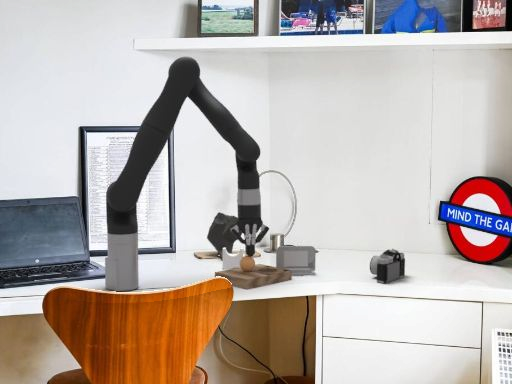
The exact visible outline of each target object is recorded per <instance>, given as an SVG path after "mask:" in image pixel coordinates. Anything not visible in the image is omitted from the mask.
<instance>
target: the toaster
mask: <svg viewBox="0 0 512 384" xmlns="http://www.w3.org/2000/svg"><path fill="white" fill-rule="evenodd" d="M275 254H276V255H275V267H277V268H282V269H287V270H292V277H296V276H301V277H302V276H303V277H304V276H316V257H317V255H316V248H315V247H314V246H312V245H280V246H278V247H277V248H276V251H275Z"/></svg>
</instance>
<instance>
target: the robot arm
mask: <svg viewBox="0 0 512 384" xmlns="http://www.w3.org/2000/svg"><path fill="white" fill-rule="evenodd" d="M167 72H168V74H167V75H168V76H167V79H166V81H165V84H164V86H163V88H162V91H161V93H160V94H159V97H158V98H157V99H156V100H155V102H154V103H153V105H152V106H151V108H150V109H149V110H148V112H147V114H146V115H145V117H144V118H143V120H142V122H141V125H140V126H139V128H138V130H137V131H136V134H135V136H134V139H133V142H132V145H131V148H130V152H129V155H128V158H127V161H126V163H125V165H124V167H123V169H122V170H121V172H120V174H119V176H118V177H117V179H116V180H115V181H113V182H111V183H110V184H109V186H108V187H107V188H106V189H107V190H106V193H105V205H106V206H105V208H106V210H105V211H106V214H105V215H106V227H107V228H106V230H107V232H106V233H107V234H106V236H107V239H106V240H107V241H106V242H107V256H106V257H105V258H104V268H105V269H104V271H105V272H104V275H105V278H104V279H105V281H104V282H105V286H104V287H105V289H106V290H107V289H108V290H111V291H114V292H121V291H124V292H125V291H126V292H127V291H133V290H135V289H138V288H139V285H140V284H139V282H140V281H139V280H140V279H139V224H138V214H137V208H138V206H137V204H138V202H139V198H140V195H141V193H142V191H143V189H144V188H143V187H144V185H145V182H146V180H147V177H148V175H149V173H150V172H151V170H152V169H153V167H154V165H155V163H156V162H157V160H158V159H159V158H160V156H161V153H162V152H163V150H164V148H165V146H166V145H167V142H168V140H169V138H170V136H171V134H172V132H173V130H174V128H175V125H176V123H177V121H178V117H179V115H180V112H181V109H182V107H183V106H184V103H185V101H186V99H187V98H188V99H189V100H190V101H191V102H192V103H193V104H194V105H195V106H196V107H197V108H198V110H199V111H200V112H201V114H203V116H204V117H205V118H206V119H207V121H208V122H209V124H211V126H212V127H213V128H214V129H215V131H216V132H217V134H219V136H220V137H221V138H222V139H223V140H224V141H225V142H227V143H228V144H229V145H230V146H231V147H232V149H233V150H234V151H235V156H234V158H235V163H236V164H235V165H236V171H237V194H236V195H237V196H236V197H237V198H236V203H237V218H238V220H237V222H236V226H234V227H233V228H231V229H230V231H231V232H232V233H233V234H234V235H235V237H236V238H237V239H238V240H237V241H239V243H240V244H243V245H245V251H244V253H245V255H246V256H249V257H253V256H254V255H256V254H255V253H256V244H258V243H261V241H262V240H263V239H264V238H265V236H266V234H267V233H268V232H269V231H270V228H269V226H267V225H265V224H264V222H263V220H262V219H263V218H262V199H261V198H262V197H261V189H260V173H259V172H258V166H257V165H258V164H257V162H258V161H257V160H259V158H260V156H261V148H260V145H259V144H258V142H257V141H256V140H255V139H254V138H253V137H252V136H251V135H250V134H249V133H248V132H247V131H246V130H245V129H244V128H243V126H242V125H241V124H240V122H239V121H238V120H237V119H236V117H235V116H234V115H233V114H232V113H231V111H230V110H229V109H228V108H227V107H226V106H225V105H224V104H223V103H222V102H221V101H219V100H218V98H217V97H215V96H214V95H213V93H212V92H211V91H210V90H209V89H208V88H207V87H206V85H205V84H204V82H203V81H202V79H201V78H200V77H201V69H200V65H199V63H198V62H197V60H196V59H195V58H193V57H191V56H181V57H178V58H176V59H175V60H174V61H173V62H172V63H171V65H170V66H169V67H168V71H167ZM238 228H239V229H240V230H241V232H242V235H243V237H244V238H243V237H242V235H241V236H240V235H239V234H238V232H239V230H238ZM259 230H260V232H259ZM258 232H259V234H257V233H258Z"/></svg>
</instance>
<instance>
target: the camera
mask: <svg viewBox="0 0 512 384" xmlns="http://www.w3.org/2000/svg"><path fill="white" fill-rule="evenodd" d="M405 267H406V258H405V253H404V252H399V250H396V249H394V248H391V249H386V250H385V251H383V252H382V253H381V254H380V255H373V256H372V258H371V259H370V261H369V271H370V273H371V275H374V276H375V275H376V282H377V283H380V284H387V283H390V282H393V281H395V280H399V279H401V278H405V276H406V275H405V274H406V271H405V269H406V268H405Z"/></svg>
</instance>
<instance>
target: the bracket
mask: <svg viewBox="0 0 512 384" xmlns="http://www.w3.org/2000/svg"><path fill="white" fill-rule="evenodd" d="M244 256H246V253H244V247H240V249H239V252H238V253H233V254H229V253H228V252H227V250H226V248H223V261H222V270H229V269H235V268H240V260H241V259H242V258H243V257H244Z"/></svg>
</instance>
